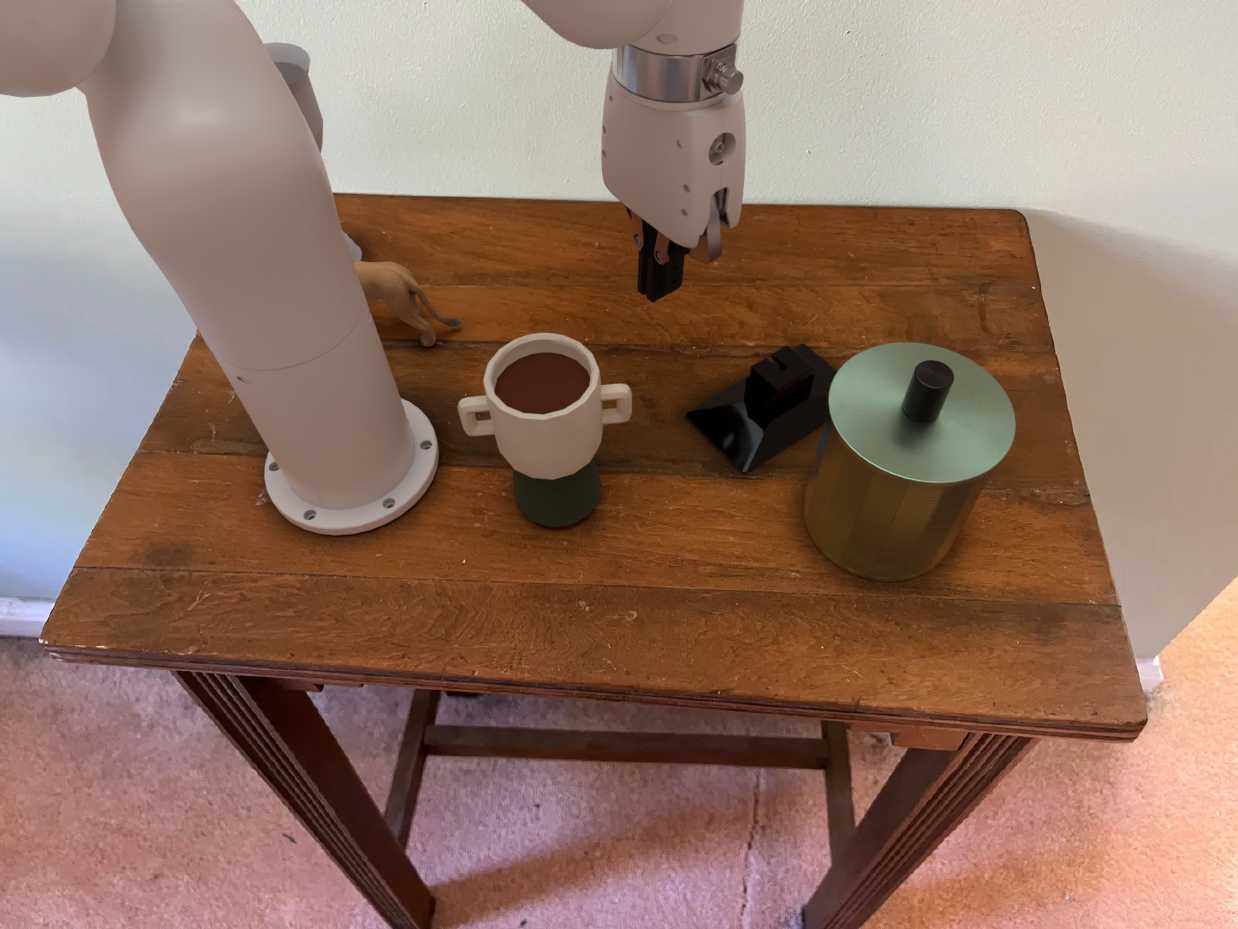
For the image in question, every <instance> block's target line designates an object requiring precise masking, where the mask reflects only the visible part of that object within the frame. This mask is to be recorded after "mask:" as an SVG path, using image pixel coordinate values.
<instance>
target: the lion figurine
mask: <svg viewBox="0 0 1238 929" xmlns="http://www.w3.org/2000/svg"><path fill="white" fill-rule="evenodd" d="M352 262H353V264H354V267H355V270H356V273H357V276H358V279H359V282H360V285H361V286H362V289H363V292H364V295H365V298H366V301H367V303H368V304H373V303H377V302H379V301H382V300H383V301H384V303H385V305H386V306H387V307H388V309H389V310H390V311H391V312H392V313H393V314H394V316H396V317H397V318H398V319H400V321H402V322H404V323H405V324H406V325H409V326H411V327H412V328H414V329H417V330H418V331H420V332H421V333H422V334H423V335H420V337H419V341H420V343H421V345H422V346H423V347H425V348H426V347H427V348H429V347H433V346H434V345H435V343H436V341H437V334H436V332H435V330H434V328H433V327H432V324H430V322H429V321H427V320H426V319H424V318H422V317H421V315H419V313H420V311H421V310H422V309H421V308H422V307H421V305H420V304H419V303H418V301H417V299H416V297H418V299H419V300H420V302H421V303H422V305H423V306H424V307H425V309H426V310H427V311H428V312H429V313H430V314H431V315H432V316H433V318H434V319H435V320H437V321H438V322H440V323H442V324H443V325H446V326H447V327H451V328H454V327H458V326H460V325H461V321H462V320H461V319H458V318H454V317H453V318H452V317H451V318H450V317H445V316H442V315H441V314H440V313H439V312H438V310H437V309H436V308H435V307H434V305H433V304H432V302H431V300H430V299H429V297H428V296H427V294H426V292H425V291H424V289H422V287H421V286H420V284H419V283H418V282H417V281H416V280H415V277H414V275H413V273H412V272H411V271H410V270H409V269H408V268H406V267H405V266H403V265H401V264H399V263H397V262H395V261H364V260H360V261H358V260H352ZM416 295H417V296H416Z"/></svg>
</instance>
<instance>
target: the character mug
mask: <svg viewBox="0 0 1238 929" xmlns="http://www.w3.org/2000/svg"><path fill="white" fill-rule="evenodd" d="M601 380H602V379H601V372H600V368H599V366H598V363H597V361H596V358H595V356H594V353H592V352H591V351H590V350H589V349H588V348H587V347H586V346H585V345H583V343H581V341H579V340H576V339H573V338H572V337H569V336H566V335H564V334H559V333H552V332H535V333H530V334H526V335H523V336H520V337H518V338H515V339H512V341H510V342H508V343H507V344H505V345H503V346H502V347H500V348H499V349H498V350H497V351H496V353H495V354H494V355H493V356H492V357H491V358H490V360H489V361H488V362H487V364H486V369H485V372H484V376H483V379H482V381H483V382H482V383H483V389H484V393H485V395H475V396H467V397H463V398H461V399H460V400H459V401H458V404H457V407H456V408H457V412H458V415H459V419H460V422H461V425H462V430H464V433H466V435H467V436H469V437H482V436H483V437H484V436H493V435H494V438H495V441H496V445H497V448H498V451H499V453H500V454H501V455H502V457H503V458H504V459H505V460H506V461H507V463H508V464H509V465H510V466H511V467H512V489H513V495H514V499H515V502H516V505H517V508H518V510H520V511H521V513H523V515H525V516H526V517H527V518H528V519H529V520H530V521H531V522H533V523H536V524H539V525H542V526H545V527H547V528H550V529H551V528H559V527H560V528H561V527H571V526H572V525H575V524H576V523H578V522H579V521H581V520H583V519H585V518H586V517H588V516H589V515H590V513H591V512H592V511H593V509H594V508H595V507H596V506H597V504H598V503H599V502H600V496H601V490H602V480H601V476H600V472H599V468H598V464H597V462H596V459H595V454H596V453H597V451H598V449H599V447H600V445H601V443H602V438H603V430H604V425H615V424H623V423H627V422H629V421H630V419H631V416H632V413H633V391H632V390H631V388H630V386H629V385H628V384H627V383H611V384H602V381H601ZM604 401H616V407H614V408H603V402H604ZM482 412H483V413H485V412H489V416H490V419H482V420H481V419H480V420H478V419H477V417H476V413H482Z"/></svg>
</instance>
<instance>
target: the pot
mask: <svg viewBox="0 0 1238 929" xmlns="http://www.w3.org/2000/svg"><path fill="white" fill-rule="evenodd" d="M993 472H994V470H992V471H991V472H990V473H988V474H987V475H985V476H983V477H981V478H979V479H977V480H975V481H972V482H969V483H966V484H962V485H957V486H951V487H923V486H915V485H911V484H906V483H902V482H899V481H896V480H893V479H890V478H888V477H886V476H883V475H881V474H879V473H877V472H875V471H873V470H872V469H870V468H868V467H867V466H865V465H864V464H863V463H861V462H860V461H858V460H857V459H856V458H855V457H854V456H853V455H852V454H851V453H849V452H848V450H847V449H846V448H845V447H844V446H843V445H842V443H841V442H840V440H839V439H838V437H837V436H836V434H835V432H834V430H833V428H832V426H831V423H830V420H829V417H828V410H827V414H826V418H825V421H824V424H823V425H822V429H821V433H820V437H819V441H818V444H817V448H816V451H815V455H814V460H813V463H812V467H811V470H810V474H809V478H808V482H807V486H806V490H805V493H804V498H803V499H804V503H803V518H804V523H805V526H806V530H807V533H808V534H809V537H810V538H811V540H812V542H813V544H814V545H815V546H816V548H817V550H819V552H820V553H821V554H823V555H824V557H826V558H827V559H828V560H829V561H830V562H832V563H833V565H836V567H838V568H840V569H842V570H844V571H845V572H847V573H849V574H851V575H855V576H856V577H860V578H862V579H866V580H872V581H875V582H876V581H877V582H887V583H888V582H903V581H907V580H912V579H914V578H917V577H921V576H922V575H924V574H926V573H928V572H929V571H931V570H932V569H934V568H935V567H936V566H937V565H938V564H939V563H940V562H941V561H942V560H943V558H944V557H945V556H946V555H947V554H948V553H949V551H950V550H951V548H952V546H953V544H954V542H955V541H956V538H957V537H958V535H959V533H960V531H961V530H962V528H963V526H964V525H965V522H966V521H967V519H968V518H969V515H970V514H971V512H972V510H973V508H974V506H975V504H976V503H977V502H978V500H979V498H980V495H981V494H982V492H983V490H984V488H985V486H986V485H987V483H988V481H989V479H990V478H991V476H992V474H993Z"/></svg>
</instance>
